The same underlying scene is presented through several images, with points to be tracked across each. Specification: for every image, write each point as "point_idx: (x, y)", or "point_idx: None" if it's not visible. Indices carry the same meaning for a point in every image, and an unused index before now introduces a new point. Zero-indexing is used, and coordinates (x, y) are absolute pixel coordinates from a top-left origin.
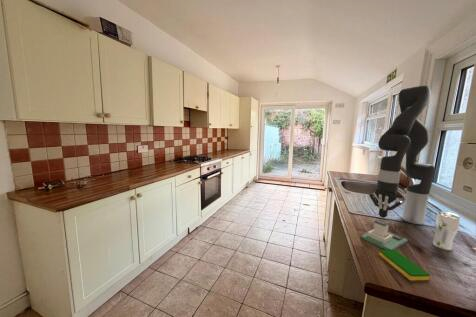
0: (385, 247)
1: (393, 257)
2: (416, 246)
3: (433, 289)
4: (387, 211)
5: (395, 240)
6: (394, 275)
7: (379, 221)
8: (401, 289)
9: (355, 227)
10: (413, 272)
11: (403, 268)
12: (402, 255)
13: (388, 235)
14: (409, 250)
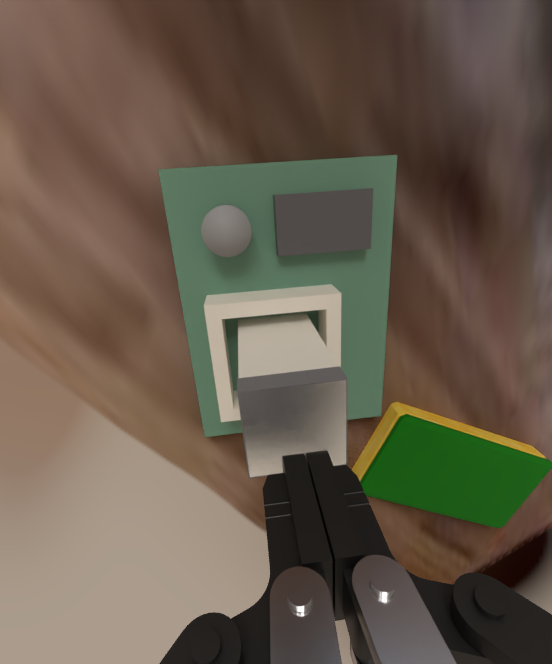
0: (351, 417)
1: (423, 490)
2: (447, 165)
3: (546, 484)
4: (384, 550)
5: (350, 276)
6: (442, 532)
7: (283, 455)
8: (475, 565)
9: (69, 328)
10: (505, 511)
11: (473, 520)
12: (445, 436)
13: (314, 307)
14: (430, 280)
